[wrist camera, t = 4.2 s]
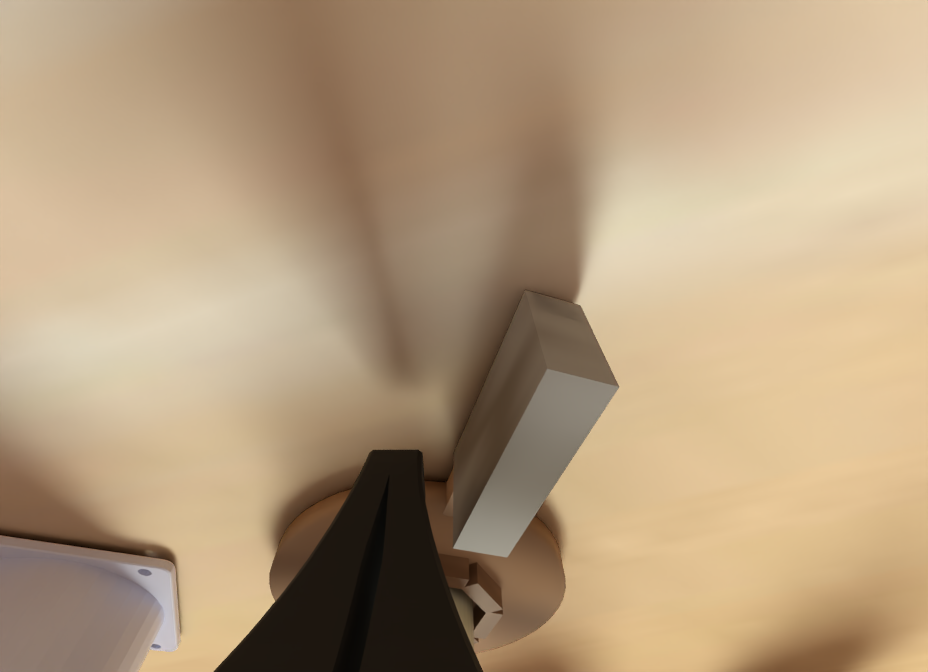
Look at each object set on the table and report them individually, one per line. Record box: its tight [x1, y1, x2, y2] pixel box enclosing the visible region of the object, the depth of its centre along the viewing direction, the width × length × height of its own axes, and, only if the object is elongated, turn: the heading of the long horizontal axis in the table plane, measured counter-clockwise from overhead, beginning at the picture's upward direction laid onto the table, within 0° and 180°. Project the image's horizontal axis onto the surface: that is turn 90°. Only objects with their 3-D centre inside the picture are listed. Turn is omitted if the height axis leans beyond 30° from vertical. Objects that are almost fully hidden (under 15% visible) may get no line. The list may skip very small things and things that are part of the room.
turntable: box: [269, 290, 619, 654], centre depth 15 cm, size 20×12×4 cm, turn 162°
